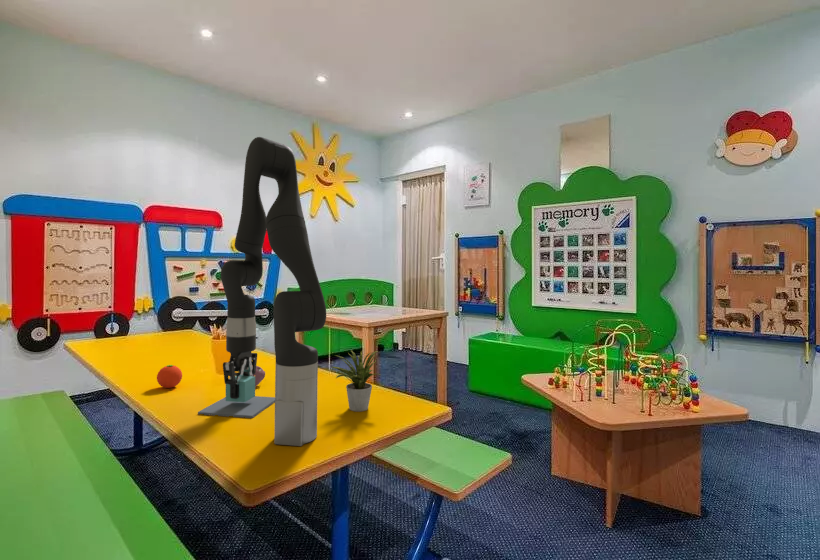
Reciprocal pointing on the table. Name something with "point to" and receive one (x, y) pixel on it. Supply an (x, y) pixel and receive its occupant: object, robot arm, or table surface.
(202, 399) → the table surface
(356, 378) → the house plant
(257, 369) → the video game controller
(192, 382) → the table surface
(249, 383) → the teal cube
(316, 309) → the robot arm
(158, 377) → the tomato
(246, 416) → the slate mat
